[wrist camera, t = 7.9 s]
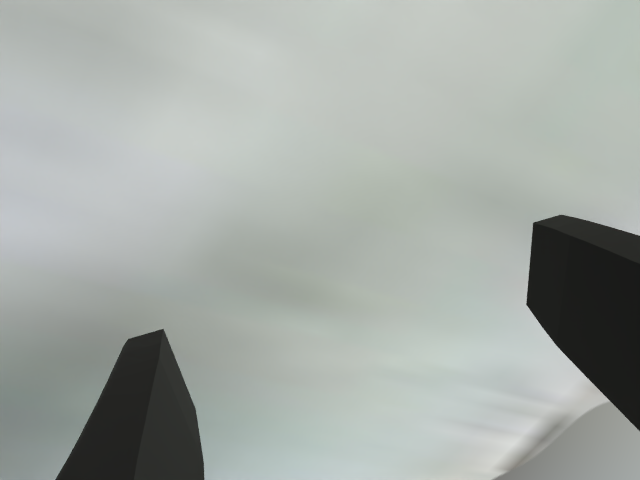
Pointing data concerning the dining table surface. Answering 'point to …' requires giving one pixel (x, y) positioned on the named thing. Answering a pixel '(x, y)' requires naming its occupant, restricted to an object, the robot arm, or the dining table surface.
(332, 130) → the dining table surface
